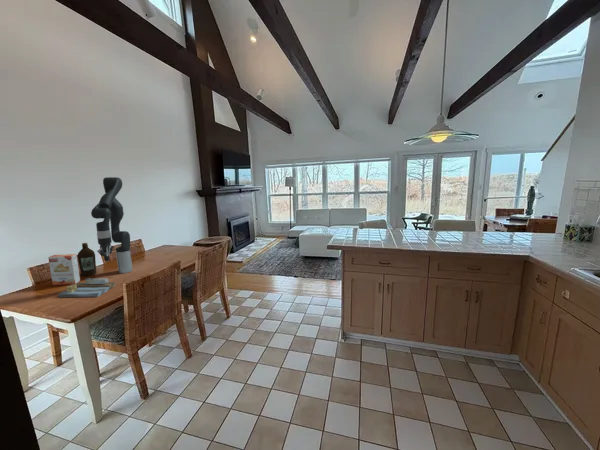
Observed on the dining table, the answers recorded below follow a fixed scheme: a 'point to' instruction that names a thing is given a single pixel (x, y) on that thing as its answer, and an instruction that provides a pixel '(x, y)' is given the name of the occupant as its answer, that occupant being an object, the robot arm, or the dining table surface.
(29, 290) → the dining table surface
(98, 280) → the lock bar
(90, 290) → the latched flap box
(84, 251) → the olive oil
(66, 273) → the cracker box
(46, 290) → the dining table surface
